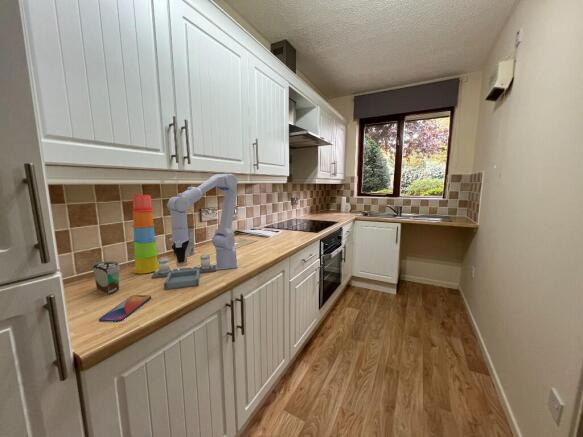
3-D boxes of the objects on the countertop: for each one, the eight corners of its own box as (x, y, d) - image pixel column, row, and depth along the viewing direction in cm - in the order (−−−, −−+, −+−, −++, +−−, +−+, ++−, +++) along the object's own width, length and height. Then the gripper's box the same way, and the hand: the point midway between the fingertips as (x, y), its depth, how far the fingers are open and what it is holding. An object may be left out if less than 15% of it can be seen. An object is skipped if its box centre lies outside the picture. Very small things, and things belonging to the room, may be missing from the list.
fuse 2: (210, 266, 115) (209, 254, 114) (210, 269, 111) (209, 256, 110) (201, 267, 113) (200, 255, 112) (200, 270, 110) (200, 257, 109)
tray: (199, 274, 107) (199, 269, 106) (198, 285, 95) (198, 279, 95) (169, 277, 103) (168, 272, 103) (164, 289, 92) (164, 283, 91)
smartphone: (97, 323, 71) (96, 319, 71) (132, 297, 86) (132, 295, 86) (121, 323, 71) (121, 320, 71) (152, 298, 86) (152, 295, 85)
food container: (129, 289, 92) (126, 264, 90) (110, 296, 87) (107, 269, 85) (113, 282, 98) (110, 258, 96) (95, 288, 93) (91, 263, 91)
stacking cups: (128, 272, 109) (120, 195, 104) (150, 265, 118) (144, 194, 113) (143, 276, 105) (135, 195, 100) (164, 268, 114) (158, 194, 109)
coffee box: (173, 256, 133) (171, 227, 131) (181, 252, 139) (179, 225, 137) (187, 257, 130) (185, 228, 128) (195, 254, 137) (193, 225, 134)
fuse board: (215, 266, 117) (215, 262, 117) (216, 271, 110) (215, 267, 110) (155, 272, 109) (154, 268, 108) (151, 278, 102) (151, 274, 102)
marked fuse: (187, 262, 101) (186, 248, 100) (187, 266, 97) (186, 251, 96) (177, 263, 99) (176, 249, 98) (175, 267, 96) (174, 252, 95)
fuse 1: (170, 270, 109) (169, 257, 108) (169, 273, 105) (168, 260, 105) (160, 271, 108) (159, 258, 107) (158, 274, 104) (157, 261, 103)
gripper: (171, 224, 101) (173, 256, 103) (165, 231, 88) (168, 267, 90) (189, 223, 104) (191, 254, 106) (186, 230, 90) (188, 265, 92)
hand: (181, 260), depth 98 cm, fingers closed on marked fuse, 4 cm apart
